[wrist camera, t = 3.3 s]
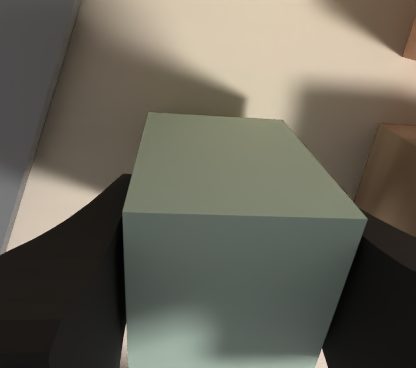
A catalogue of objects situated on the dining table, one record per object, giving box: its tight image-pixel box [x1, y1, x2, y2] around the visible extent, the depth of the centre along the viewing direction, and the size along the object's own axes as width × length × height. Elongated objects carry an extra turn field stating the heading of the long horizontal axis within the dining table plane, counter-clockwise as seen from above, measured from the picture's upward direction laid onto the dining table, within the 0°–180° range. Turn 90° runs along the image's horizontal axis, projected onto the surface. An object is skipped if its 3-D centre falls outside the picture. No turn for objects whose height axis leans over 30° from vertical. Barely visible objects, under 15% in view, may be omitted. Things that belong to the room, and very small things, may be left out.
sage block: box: [122, 112, 368, 368], centre depth 10 cm, size 4×4×6 cm
